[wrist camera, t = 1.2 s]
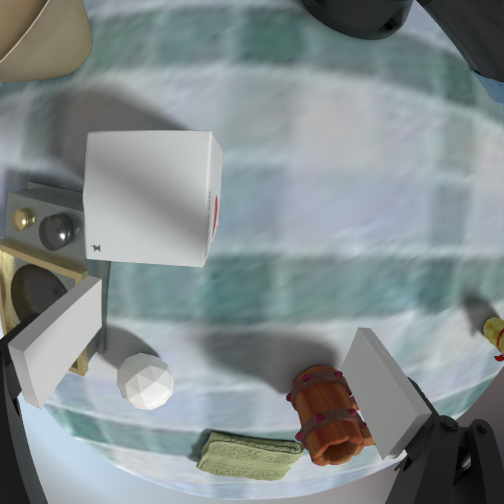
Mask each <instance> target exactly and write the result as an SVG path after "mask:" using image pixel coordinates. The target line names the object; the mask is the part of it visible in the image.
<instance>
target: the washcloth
mask: <svg viewBox="0 0 504 504" xmlns="http://www.w3.org/2000/svg"><path fill="white" fill-rule="evenodd" d="M303 452H304V447H303V446H302V445H301V444H299V443H295V442H285V441H278V440H274V441H272V440H267V439H253V438H248V437H237V436H228V435H226V434H221V433H216V432H211V435H210V437H209V439H208V441H207V443H206V444H205V446H204V447H203V449H202V452H201V458H200V460H199V462H198V463H197V466H196V468H199V469H200V470H202V471H205V472H209V473H212V474H215V475H222V476H230V477H239V478H242V477H243V478H250V479H256V480H270V481H274V480H279V479H281V478H283V477H284V476H285V474H286V472H287V471H288V470H289V469H290V465H291V464H292V463H294V462H295V461H296V460H298V458H299V457H301V455H302V453H303Z"/></svg>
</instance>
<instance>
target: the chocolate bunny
mask: <svg viewBox="0 0 504 504" xmlns="http://www.w3.org/2000/svg"><path fill="white" fill-rule="evenodd" d="M483 333H484V336H486V338H487V339H488V340H489V342H490V343H491V344H493V345H494V346H495V347H496V348H497V349H498V350H499V351H500V352H501V353H502V354H503V353H504V320H501V319H499V318H496V317H490V318H489V319H487V320H486V321H485V322H484V324H483ZM503 356H504V355H499V356H494V358H495V359H496V360H497V361H499V362H500V361H503V360H504V357H503Z"/></svg>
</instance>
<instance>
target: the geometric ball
mask: <svg viewBox="0 0 504 504" xmlns="http://www.w3.org/2000/svg"><path fill="white" fill-rule="evenodd" d="M173 384H174V378H173V376H172V374H171V371H170V369H169V367H168V365H167V364H166V363H164V362H163V361H161V360H160V359H158V358H157V357H156V356H152V355H148V354H143V353H138V354H136V355H133V356H131V357H128V358H126V359H125V360H124V362H123V363H122V364H121V366H120V367H119V368H118V375H117V386H118V388H119V390H120V392H121V395H122V397H123V399H125V400H126V401H127V402H128V403H130V404H131V405H132V406H134V407H135V408H139V409H147V410H152V409H154V408H157V407H159V406H161V405H163V404H164V403H165V402H166V401H167V400H168V398H169V397H170V396H171V395H172V394H173Z"/></svg>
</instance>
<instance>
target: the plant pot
mask: <svg viewBox="0 0 504 504" xmlns="http://www.w3.org/2000/svg"><path fill="white" fill-rule="evenodd" d="M92 44H93V40H92V33H91V28H90V23H89V20H88V16H87V12H86V9H85V7H84V4H83V1H82V0H0V83H10V82H25V81H35V80H43V79H49V78H55V77H60V76H65V75H68V74H70V73H72V72H74V71H75V70H76V69H78V68H79V67H80V66H81V65H82V64H83V63H84V61H85V60H86V59H87V57H88V55H89V53H90V51H91V48H92Z"/></svg>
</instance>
